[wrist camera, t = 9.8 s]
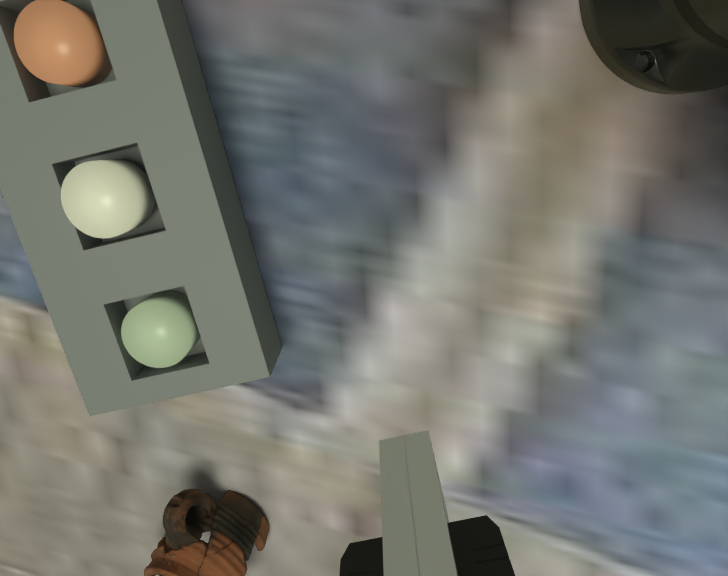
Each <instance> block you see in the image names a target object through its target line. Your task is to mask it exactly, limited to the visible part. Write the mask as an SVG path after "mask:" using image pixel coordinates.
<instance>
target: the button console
mask: <svg viewBox="0 0 728 576" xmlns="http://www.w3.org/2000/svg"><path fill="white" fill-rule="evenodd" d="M33 1H36V0H0V190H1V193H2V195H3V198H4V200H5V203H6V205H7V208H8V210H9V213H10V215H11V218H12V221H13V223H14V226H15V228H16V231H17V233H18V236H19V238H20V241H21V243H22V246H23V248H24V251H25V253H26V256H27V258H28V261H29V264H30V266H31V269H32V271H33V274H34V276H35V279H36V281H37V284H38V286H39V289H40V291H41V294H42V296H43V299H44V301H45V304H46V307H47V309H48V312H49V314H50V317H51V319H52V322H53V324H54V327H55V329H56V332H57V334H58V337H59V339H60V342H61V345H62V347H63V350H64V352H65V355H66V357H67V360H68V362H69V365H70V367H71V370H72V372H73V375H74V377H75V380H76V382H77V385H78V388H79V390H80V393H81V395H82V398H83V400H84V403H85V405H86V408H87V410H88V413H89V415H90V416H93V415H97V414H102V413H107V412H111V411H116V410H120V409H125V408H130V407H134V406H139V405H143V404H148V403H153V402H157V401H162V400H166V399H171V398H175V397H180V396H185V395H189V394H194V393H198V392H203V391H208V390H212V389H217V388H221V387H226V386H231V385H235V384H240V383H244V382H249V381H254V380H258V379H263V378H267V377H270V376H271V373H272V371H273V368H274V366H275V364H276V361H277V359H278V356H279V354H280V351H281V349H282V345H281V342H280V338H279V335H278V332H277V328H276V325H275V321H274V318H273V314H272V311H271V307H270V304H269V301H268V297H267V294H266V290H265V287H264V283H263V280H262V276H261V273H260V270H259V266H258V263H257V259H256V256H255V252H254V249H253V246H252V242H251V239H250V235H249V232H248V228H247V225H246V221H245V218H244V215H243V211H242V208H241V204H240V201H239V197H238V194H237V190H236V187H235V184H234V180H233V177H232V173H231V170H230V166H229V163H228V159H227V156H226V153H225V149H224V146H223V142H222V139H221V135H220V132H219V129H218V125H217V122H216V118H215V115H214V111H213V108H212V104H211V101H210V98H209V94H208V91H207V87H206V84H205V80H204V77H203V73H202V70H201V67H200V63H199V60H198V56H197V53H196V49H195V46H194V43H193V39H192V36H191V32H190V29H189V25H188V22H187V18H186V15H185V12H184V8H183V5H182V1H181V0H62V1H64V2H67V3H69V4H71V5H73V6H76V7H78V8H80V9H83V10H85V11H87V12H89V13H91V14H93V15H94V16H96V19H97V22H98V25H99V28H100V31H101V34H102V37H103V40H104V43H105V46H106V49H107V52H108V55H109V58H110V61H111V64H112V68H111V70H110V72H109V74H108V75H107V76H106V78H104V79H103V80H102V81H101V82H100V83H98V84H96V85H94V86H91V87H86V88H79V87H72V86H65V85H59V84H53V83H49V82H46V81H43V80H41V79H39V78H38V77H36V76H35V75H33V74H32V73H31V72H30V71H29V70H28V69H27V68H26V67H25V66H24V64H23V63H22V61H21V60H20V58H19V56H18V54H17V51H16V48H15V43H14V27H15V23H16V20H17V18H18V16H19V14H20V13H21V11H22V10H23V9H24V8H25V7H26V6H27V5H28V4H30V3H31V2H33ZM107 159H121V160H126V161H128V162H131V163H133V164H135V165H136V166H138V167H139V168H140V169H141V170H142V171H143V172H144V173H145V174H146V175H147V177H148V178H149V180H150V183H151V186H152V189H153V192H154V196H155V204H154V208H153V211H152V214H151V216H150V217H149V219H148V220H147V221H146V222H145V223H144V224H143V225H141V226H140V227H138V228H136V229H133V230H131V231H128V232H126V233H123V234H121V235H118V236H116V237H112V238H96V237H92V236H89V235H87V234H85V233H83V232H82V231H80V230H79V229H77V228H76V227H75V226H74V225H73V224H72V223H71V222H70V220H69V219H68V217H67V216H66V214H65V212H64V209H63V206H62V202H61V188H62V184H63V181H64V179H65V177H66V176H67V174H68V173H69V172H70V171H71V170H72V169H73V168H74V167H76V166H77V165H79V164H81V163H84V162H88V161H97V160H107ZM160 291H175V292H179V293H181V294H183V295H185V296H187V297H188V299H189V302H190V305H191V308H192V311H193V315H194V318H195V321H196V324H197V327H198V330H199V333H200V338H199V340H198V341H197V342H196V344H195V345H194V346H193V347H192V348H191V350H190V351H189V352H188V353H187V355H186V356H185V357H184V358H183V359H182V360H181V361H180V362H178V363H177V364H175V365H172V366H170V367H165V368H154V367H149V366H146V365H144V364H142V363H140V362H138V361H137V360H135V359H134V358H133V357H132V356H131V355H130V354H129V352H128V351H127V350H126V348H125V346H124V344H123V341H122V336H121V327H122V323H123V320H124V318H125V316H126V315H127V313H128V312H129V311H130V310H131V309H132V308H134V307H135V306H137V305H138V304H139V303H141V302H142V301H143V300H145V299H146V298H147V297H149V296H150V295H152V294H154V293H156V292H160Z"/></svg>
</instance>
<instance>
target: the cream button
mask: <svg viewBox="0 0 728 576" xmlns="http://www.w3.org/2000/svg"><path fill="white" fill-rule="evenodd" d="M61 202H62V206H63V209H64V212H65V214H66V216H67V217H68V219H69V220H70V222H71V223H72V224H73V225H74V226H75V227H76V228H77V229H79V230H80V231H82V232H83V233H85V234H87V235H89V236H92V237H96V238H112V237H116V236H118V235H121V234H123V233H126V232H128V231H131V230H133V229H136V228H138V227H140V226H141V225H143V224H144V223H145V222H146V221H147V220H148V219H149V217H150V216H151V214H152V211H153V208H154V204H155V196H154V192H153V189H152V186H151V183H150V180H149V178H148V177H147V175H146V174H145V173H144V172H143V171H142V170H141V169H140V168H139V167H138V166H136V165H135V164H133V163H131V162H128V161H126V160H121V159H107V160H97V161H88V162H84V163H81V164H79V165H77V166H76V167H74V168H73V169H72V170H71V171H70V172H69V173H68V174H67V176H66V177H65V179H64V181H63V184H62V188H61Z"/></svg>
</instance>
